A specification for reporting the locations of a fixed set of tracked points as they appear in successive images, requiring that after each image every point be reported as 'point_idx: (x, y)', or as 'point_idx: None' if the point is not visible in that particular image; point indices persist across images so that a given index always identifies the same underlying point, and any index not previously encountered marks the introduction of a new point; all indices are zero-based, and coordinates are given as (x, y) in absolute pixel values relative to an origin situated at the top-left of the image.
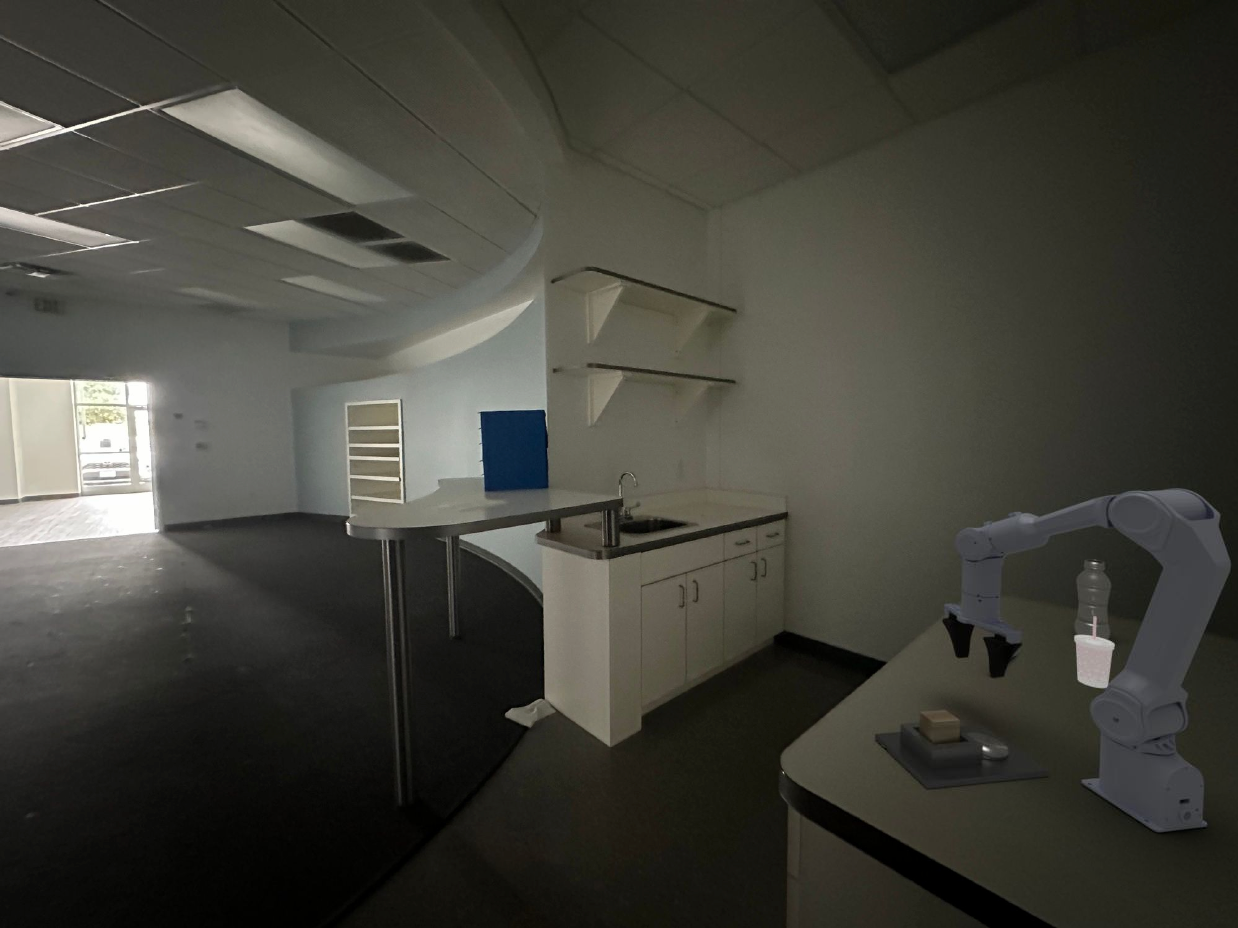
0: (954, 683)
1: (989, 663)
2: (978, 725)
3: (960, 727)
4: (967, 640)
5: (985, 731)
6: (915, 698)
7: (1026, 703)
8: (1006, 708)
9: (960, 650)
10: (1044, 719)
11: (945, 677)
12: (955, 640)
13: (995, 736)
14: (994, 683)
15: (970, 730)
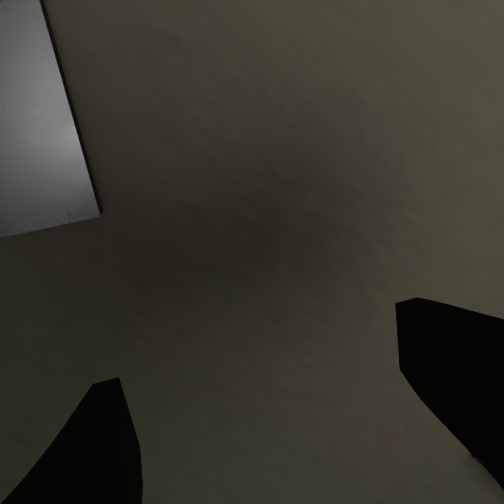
0: (453, 305)
1: (91, 427)
2: (92, 200)
3: (58, 102)
4: (490, 449)
5: (40, 202)
6: (354, 68)
7: (307, 468)
8: (274, 391)
9: (429, 344)
10: (206, 471)
11: (497, 296)
12: (494, 346)
13: (3, 222)
14: (437, 437)
15: (37, 136)
